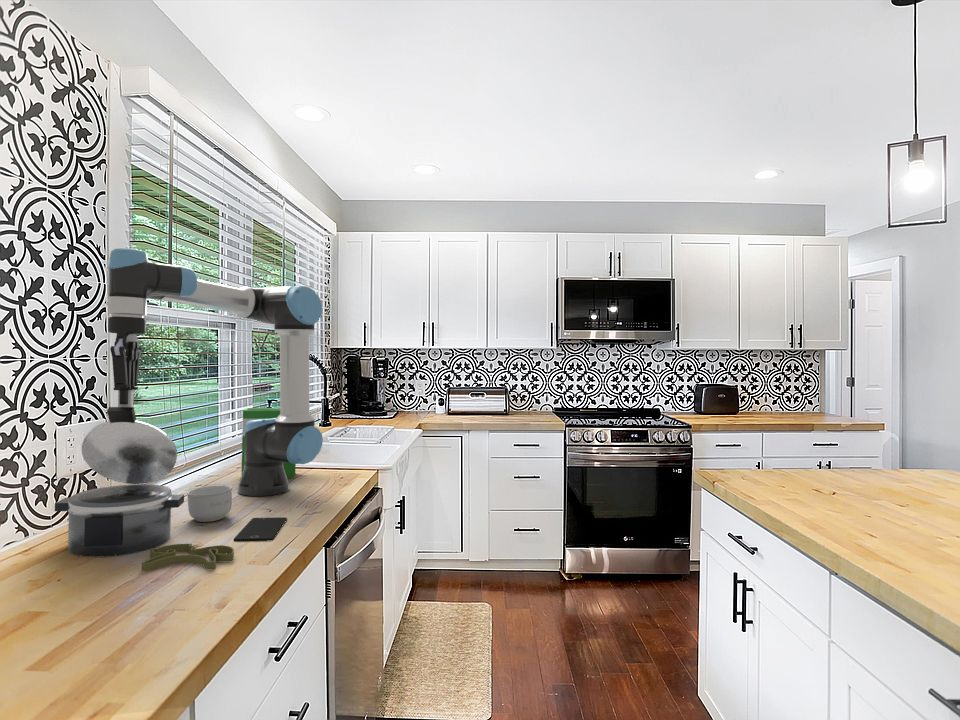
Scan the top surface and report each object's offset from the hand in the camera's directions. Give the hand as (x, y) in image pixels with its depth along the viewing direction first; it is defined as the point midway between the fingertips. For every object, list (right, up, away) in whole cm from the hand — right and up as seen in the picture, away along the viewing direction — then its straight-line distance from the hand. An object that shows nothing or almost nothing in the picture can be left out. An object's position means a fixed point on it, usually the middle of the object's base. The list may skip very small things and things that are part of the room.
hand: (125, 418), depth 134 cm
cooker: (0, -28, -1) cm, 28 cm away
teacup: (+11, -29, +20) cm, 37 cm away
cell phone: (+28, -30, +11) cm, 42 cm away
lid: (-1, -8, +3) cm, 8 cm away
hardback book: (+7, -28, +73) cm, 78 cm away
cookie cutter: (+20, -30, -11) cm, 38 cm away
